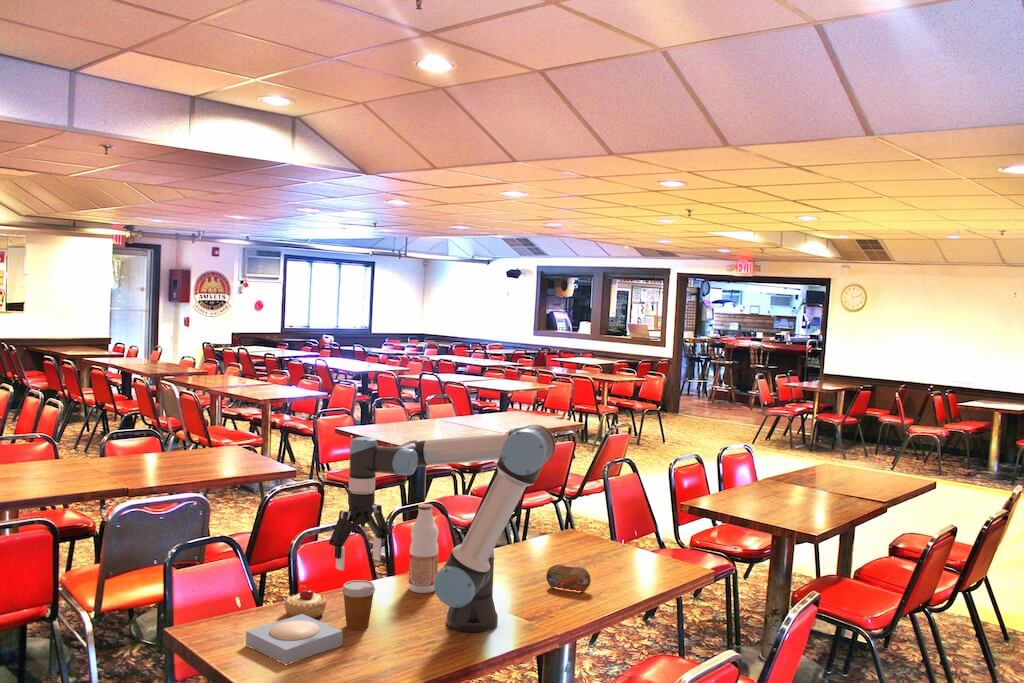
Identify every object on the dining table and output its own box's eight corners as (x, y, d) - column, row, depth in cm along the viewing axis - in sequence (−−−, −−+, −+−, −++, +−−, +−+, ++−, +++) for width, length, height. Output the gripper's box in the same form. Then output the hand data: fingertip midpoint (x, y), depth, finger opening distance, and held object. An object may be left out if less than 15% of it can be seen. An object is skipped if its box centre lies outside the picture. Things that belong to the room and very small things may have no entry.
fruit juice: (418, 595, 260) (421, 509, 259) (403, 587, 267) (405, 504, 266) (442, 590, 266) (445, 506, 265) (426, 582, 273) (429, 500, 272)
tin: (545, 588, 272) (546, 563, 272) (548, 585, 275) (549, 561, 275) (588, 595, 266) (589, 570, 266) (591, 592, 269) (592, 567, 269)
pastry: (304, 626, 232) (305, 596, 231) (276, 616, 238) (276, 587, 237) (334, 613, 242) (335, 584, 241) (306, 604, 248) (306, 576, 248)
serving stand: (342, 645, 218) (342, 629, 218) (285, 665, 204) (286, 648, 204) (301, 627, 229) (302, 612, 229) (245, 645, 215) (246, 629, 215)
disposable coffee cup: (366, 633, 227) (368, 591, 226) (335, 630, 228) (336, 588, 228) (379, 621, 236) (380, 581, 236) (348, 618, 238) (349, 578, 238)
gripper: (385, 483, 243) (382, 553, 244) (318, 495, 224) (315, 570, 225) (402, 487, 239) (399, 558, 239) (335, 499, 219) (332, 576, 220)
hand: (358, 564), depth 232 cm, fingers open, 13 cm apart
